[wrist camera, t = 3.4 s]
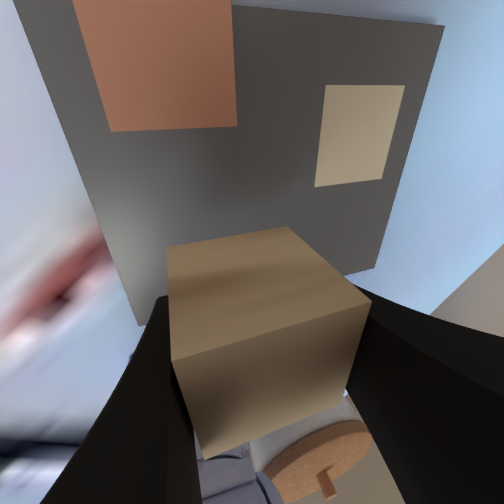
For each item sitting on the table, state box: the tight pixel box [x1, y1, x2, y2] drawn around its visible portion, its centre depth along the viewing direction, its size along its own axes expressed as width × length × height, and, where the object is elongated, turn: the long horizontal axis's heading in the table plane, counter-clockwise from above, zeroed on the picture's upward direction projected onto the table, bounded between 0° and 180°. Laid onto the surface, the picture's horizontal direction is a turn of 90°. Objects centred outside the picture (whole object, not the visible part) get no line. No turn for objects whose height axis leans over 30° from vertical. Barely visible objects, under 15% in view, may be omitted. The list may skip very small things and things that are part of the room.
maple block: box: [166, 226, 372, 460], centre depth 8 cm, size 4×4×4 cm
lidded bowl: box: [249, 396, 372, 504], centre depth 26 cm, size 13×13×11 cm
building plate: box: [13, 0, 445, 326], centre depth 16 cm, size 18×22×1 cm
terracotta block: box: [72, 0, 237, 132], centre depth 9 cm, size 4×4×4 cm
